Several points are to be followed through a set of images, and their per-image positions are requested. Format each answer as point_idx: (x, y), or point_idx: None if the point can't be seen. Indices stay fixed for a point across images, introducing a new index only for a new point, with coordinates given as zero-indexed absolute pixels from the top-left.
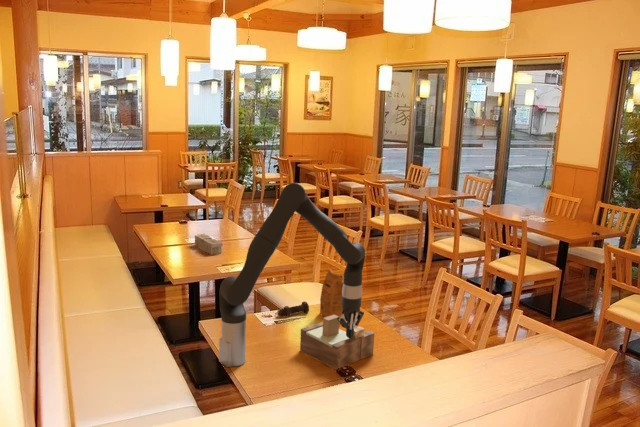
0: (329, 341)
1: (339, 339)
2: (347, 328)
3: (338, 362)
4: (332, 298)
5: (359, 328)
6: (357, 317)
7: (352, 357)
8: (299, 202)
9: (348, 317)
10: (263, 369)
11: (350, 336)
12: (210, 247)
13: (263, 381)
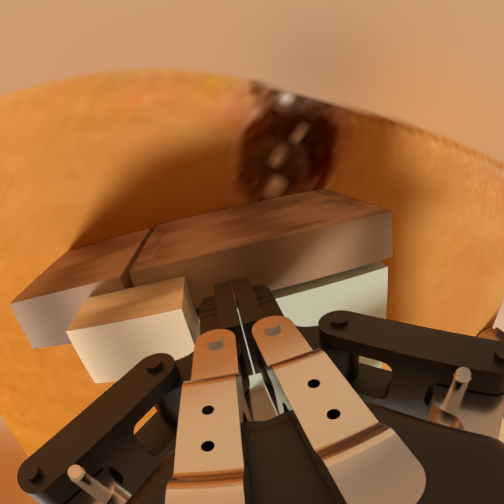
0: (369, 313)
1: (296, 320)
2: (338, 316)
3: (324, 195)
4: None
5: (109, 353)
6: (127, 454)
7: (213, 218)
8: None
9: (410, 434)
10: (473, 297)
11: (249, 282)
12: None
13: (501, 238)
